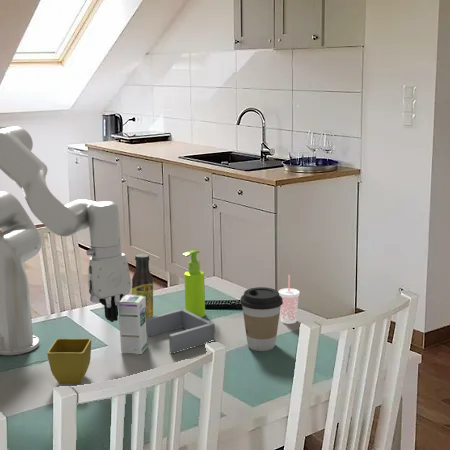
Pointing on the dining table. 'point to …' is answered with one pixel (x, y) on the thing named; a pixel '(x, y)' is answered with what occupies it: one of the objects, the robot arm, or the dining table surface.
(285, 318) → the beverage cup
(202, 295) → the soap dispenser
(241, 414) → the dining table surface
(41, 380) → the dining table surface
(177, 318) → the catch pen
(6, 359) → the dining table surface
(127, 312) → the syrup box
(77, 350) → the flower pot
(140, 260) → the sauce bottle
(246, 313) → the coffee cup
